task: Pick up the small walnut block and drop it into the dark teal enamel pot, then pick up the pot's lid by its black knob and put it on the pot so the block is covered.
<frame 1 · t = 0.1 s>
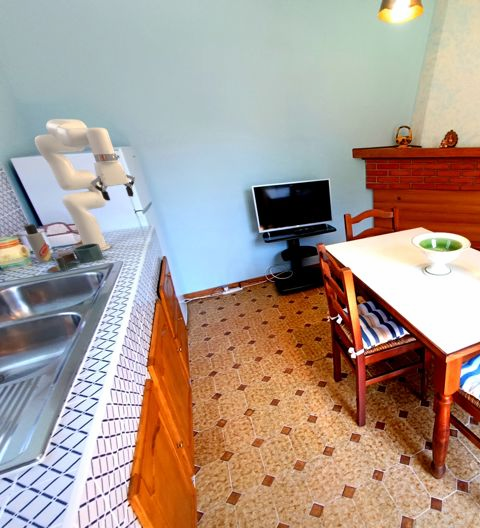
hand: (119, 198, 136), 31 cm above the counter, tool pointing down, fingers open, 9 cm apart
lid: (63, 267, 143), point 1 cm above the counter
block: (69, 262, 152), on the counter
pot: (91, 260, 153), on the counter
lotion bottle: (47, 262, 153), on the counter
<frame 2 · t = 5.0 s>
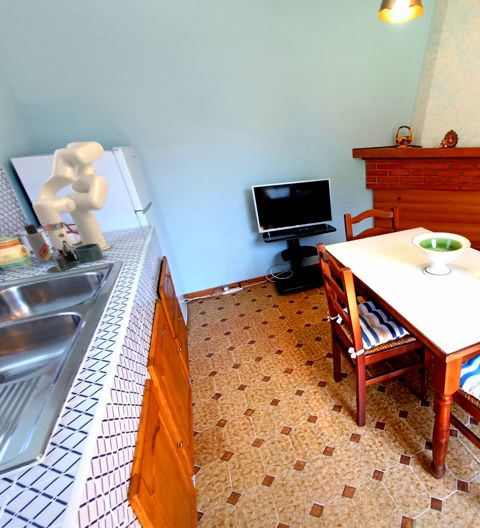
hand: (69, 261, 152), 1 cm above the counter, tool pointing down, fingers closed on block, 4 cm apart
block: (69, 262, 152), on the counter, touching gripper
everything else where it was.
when the fingers open (7 cm above the counter, at t = 10.8 s): block drops 6 cm, resting on pot.
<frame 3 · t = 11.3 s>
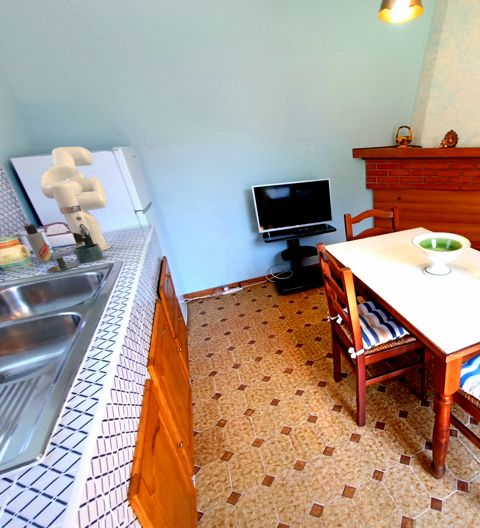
hand: (85, 243, 149), 9 cm above the counter, tool pointing down, fingers open, 9 cm apart
block: (91, 259, 153), resting on pot
everything else where it was.
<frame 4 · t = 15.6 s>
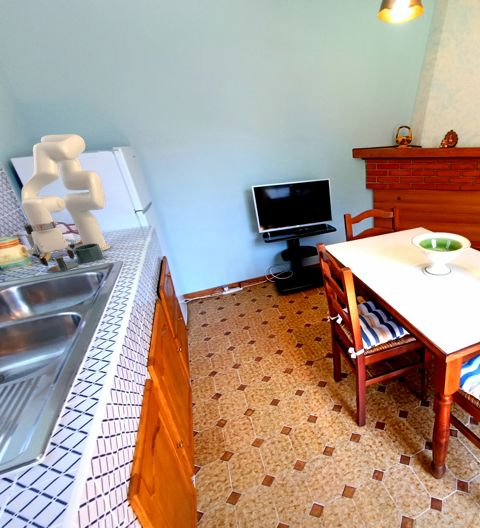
hand: (59, 262, 142), 4 cm above the counter, tool pointing down, fingers open, 9 cm apart
nothing on the counter moved.
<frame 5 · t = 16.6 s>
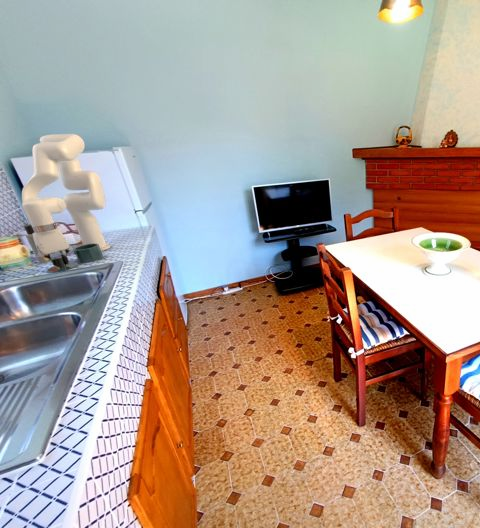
hand: (62, 265, 143), 2 cm above the counter, tool pointing down, fingers closed on lid, 2 cm apart
lid: (63, 267, 143), point 1 cm above the counter, touching gripper
everything else where it was.
when the fingers open (9 cm above the counter, at t = 23.0 s): lid stays where it is, resting on pot.
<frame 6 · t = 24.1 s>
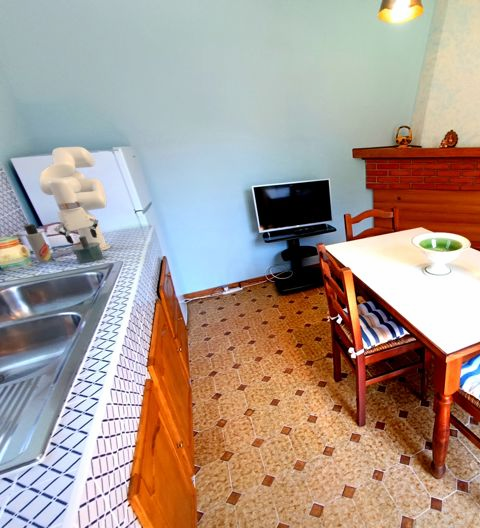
hand: (83, 240, 149), 11 cm above the counter, tool pointing down, fingers open, 9 cm apart
lid: (86, 246, 150), point 7 cm above the counter, touching pot
everything else where it was.
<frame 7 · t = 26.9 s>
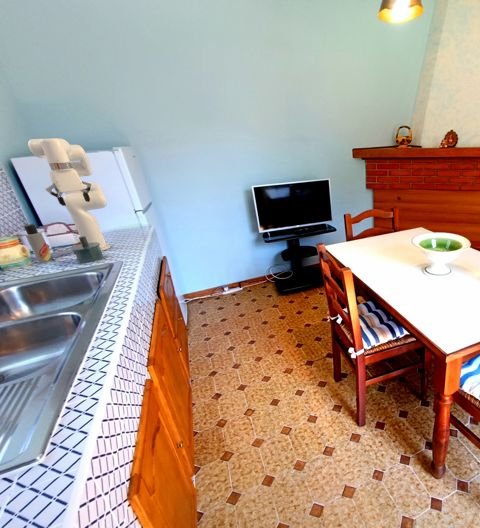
hand: (76, 203, 146), 28 cm above the counter, tool pointing down, fingers open, 9 cm apart
nothing on the counter moved.
at the end: block inside the target area in the pot (0.1 cm from its centre), point 0.4 cm above the pot's base; lid 0.1 cm off-centre on the pot, point 7.4 cm above the pot's base; lid tilted 0° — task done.
